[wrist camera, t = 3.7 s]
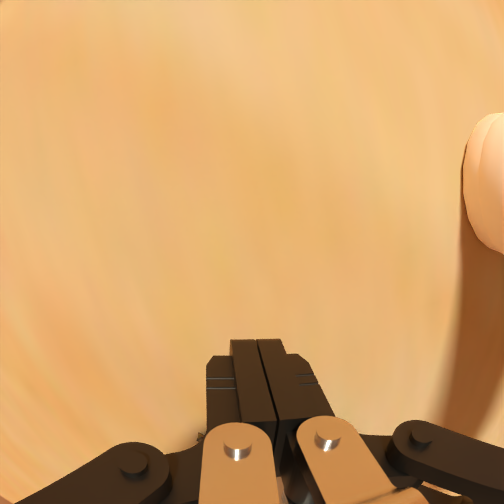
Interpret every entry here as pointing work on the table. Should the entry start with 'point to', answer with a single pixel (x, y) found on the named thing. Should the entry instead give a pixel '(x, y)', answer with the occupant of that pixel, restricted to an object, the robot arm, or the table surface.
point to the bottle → (486, 181)
